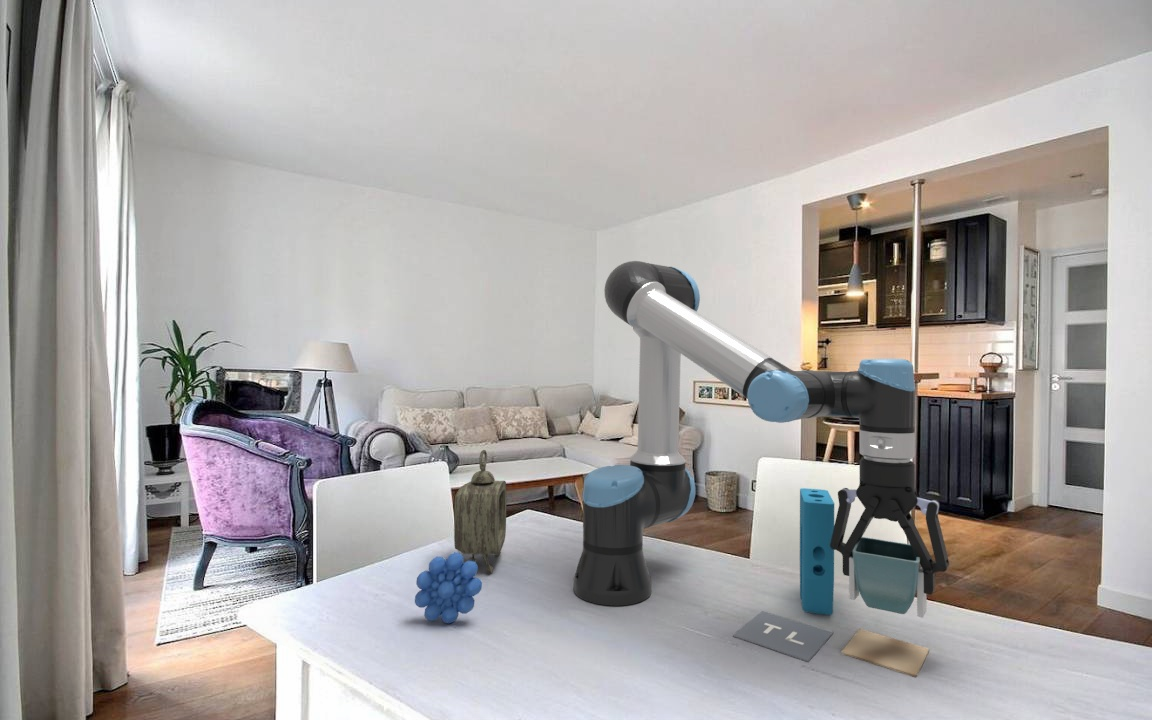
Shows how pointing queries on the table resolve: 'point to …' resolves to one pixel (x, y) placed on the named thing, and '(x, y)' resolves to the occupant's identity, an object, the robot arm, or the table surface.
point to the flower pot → (886, 574)
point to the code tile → (784, 635)
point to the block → (816, 551)
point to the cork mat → (886, 652)
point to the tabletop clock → (480, 515)
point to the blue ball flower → (448, 588)
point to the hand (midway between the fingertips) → (886, 605)
